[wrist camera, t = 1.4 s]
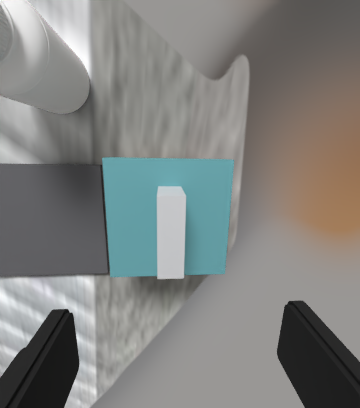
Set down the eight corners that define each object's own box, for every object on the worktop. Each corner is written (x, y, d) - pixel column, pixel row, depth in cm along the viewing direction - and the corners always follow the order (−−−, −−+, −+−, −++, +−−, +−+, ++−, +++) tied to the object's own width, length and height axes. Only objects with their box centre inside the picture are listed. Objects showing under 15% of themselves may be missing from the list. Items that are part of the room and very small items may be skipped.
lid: (218, 261, 29) (238, 302, 21) (115, 263, 28) (98, 307, 20) (226, 158, 26) (253, 162, 18) (109, 156, 24) (84, 160, 17)
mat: (109, 270, 35) (107, 273, 34) (-2, 273, 33) (-6, 276, 32) (101, 165, 30) (100, 165, 30) (-26, 163, 29) (-31, 163, 28)
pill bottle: (61, 128, 29) (-42, 106, 14) (13, 75, 27) (-162, -12, 12) (104, 89, 28) (43, 24, 14) (59, 32, 26) (-71, -115, 12)
